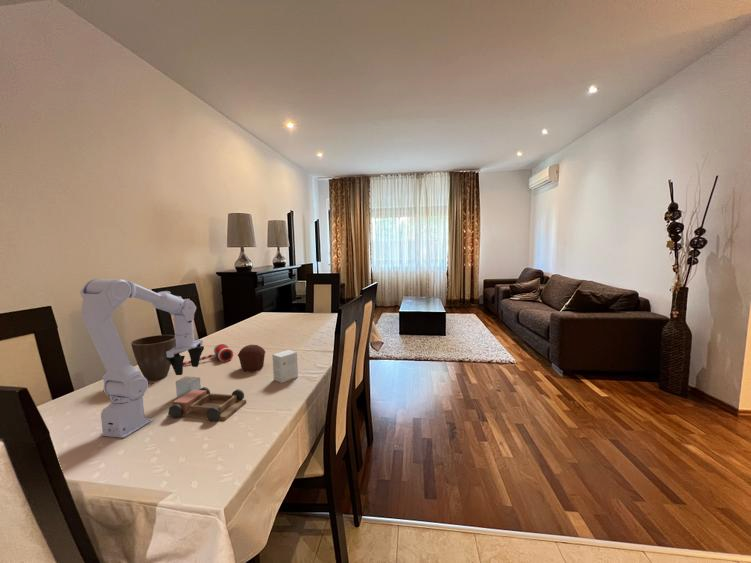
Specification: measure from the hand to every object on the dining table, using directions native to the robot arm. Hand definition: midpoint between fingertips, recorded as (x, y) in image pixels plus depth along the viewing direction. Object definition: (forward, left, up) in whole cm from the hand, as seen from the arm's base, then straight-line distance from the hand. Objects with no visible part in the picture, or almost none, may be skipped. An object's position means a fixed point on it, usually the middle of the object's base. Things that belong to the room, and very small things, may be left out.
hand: (187, 370), depth 113 cm
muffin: (+28, -8, -9) cm, 31 cm away
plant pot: (+13, +26, -9) cm, 31 cm away
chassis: (-8, -14, -9) cm, 19 cm away
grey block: (0, 0, -9) cm, 9 cm away
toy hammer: (+34, +17, -10) cm, 39 cm away
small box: (+19, -28, -9) cm, 35 cm away
